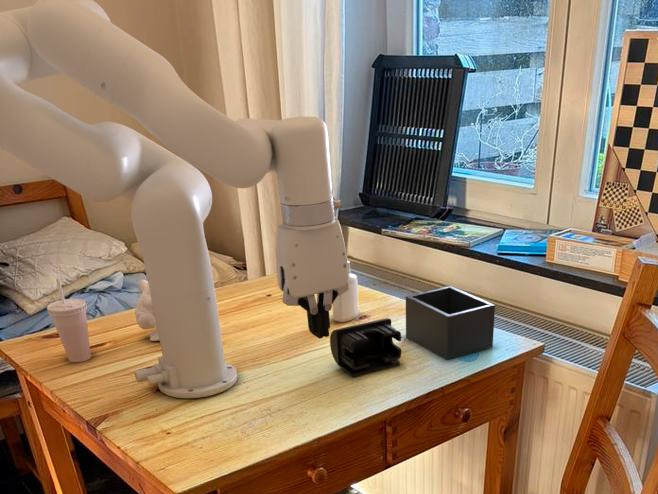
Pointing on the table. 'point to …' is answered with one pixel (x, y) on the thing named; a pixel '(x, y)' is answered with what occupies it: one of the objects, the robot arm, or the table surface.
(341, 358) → the end cap
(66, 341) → the smoothie
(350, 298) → the eye dropper bottle
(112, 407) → the table surface
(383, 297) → the table surface
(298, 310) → the table surface
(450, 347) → the box
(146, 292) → the koala figurine
